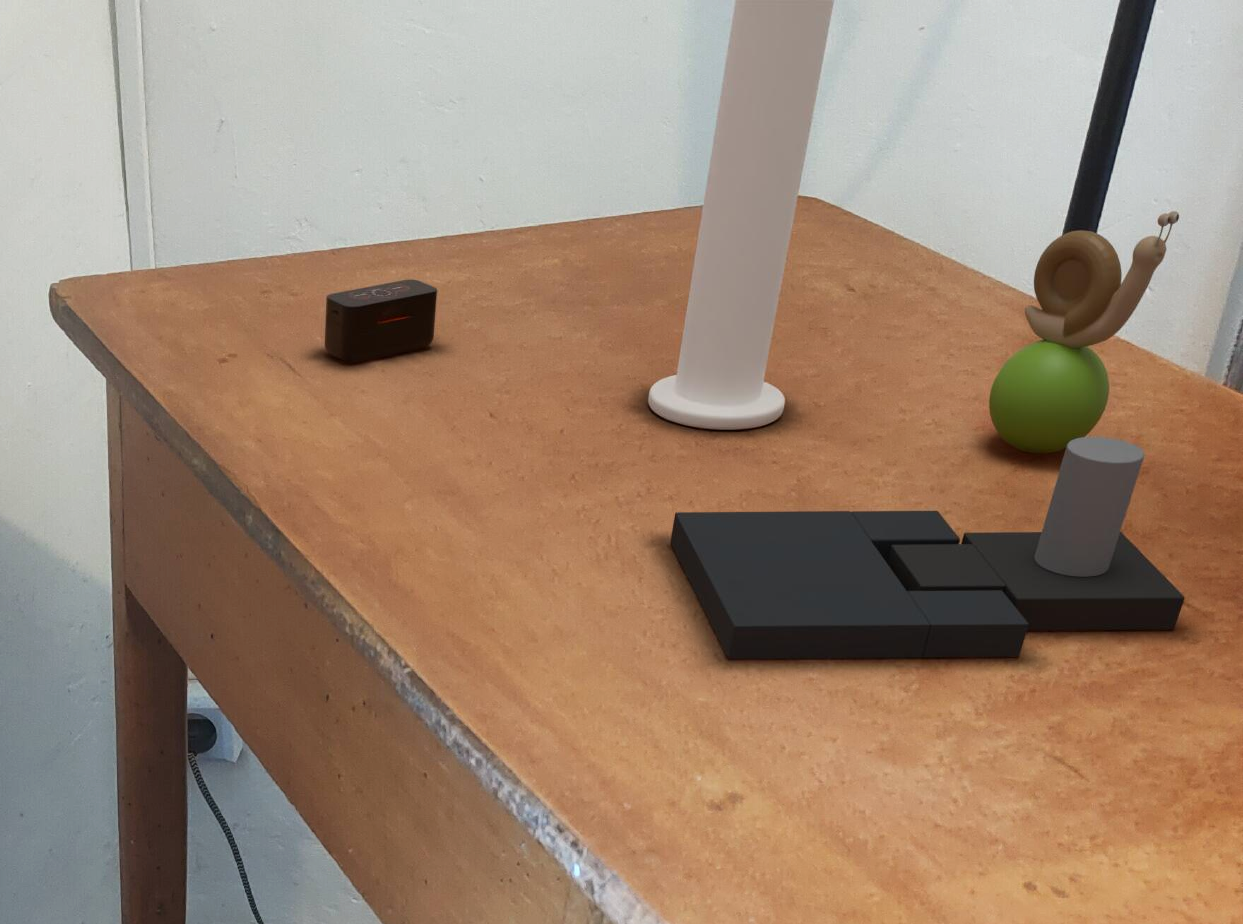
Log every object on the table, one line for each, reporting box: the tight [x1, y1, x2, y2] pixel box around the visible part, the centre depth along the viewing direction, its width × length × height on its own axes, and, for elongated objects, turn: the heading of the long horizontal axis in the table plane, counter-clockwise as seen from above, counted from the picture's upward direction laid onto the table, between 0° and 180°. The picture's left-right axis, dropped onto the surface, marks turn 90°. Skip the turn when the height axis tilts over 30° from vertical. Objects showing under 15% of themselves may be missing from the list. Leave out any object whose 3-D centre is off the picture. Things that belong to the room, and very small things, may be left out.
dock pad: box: [669, 510, 1029, 660], centre depth 82 cm, size 12×12×2 cm
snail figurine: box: [988, 210, 1180, 454], centre depth 92 cm, size 5×6×12 cm
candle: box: [647, 0, 835, 431], centre depth 93 cm, size 7×7×25 cm
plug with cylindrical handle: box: [887, 436, 1185, 632], centre depth 80 cm, size 11×7×6 cm, turn 89°
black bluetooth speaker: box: [324, 279, 438, 364], centre depth 109 cm, size 5×7×3 cm, turn 119°
